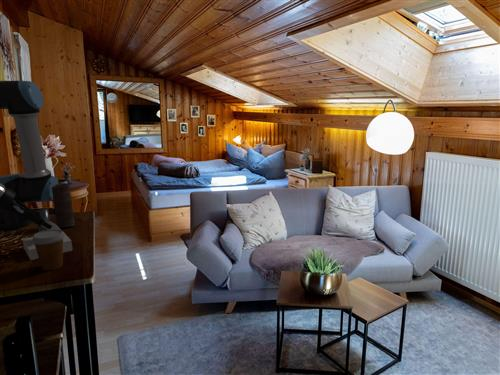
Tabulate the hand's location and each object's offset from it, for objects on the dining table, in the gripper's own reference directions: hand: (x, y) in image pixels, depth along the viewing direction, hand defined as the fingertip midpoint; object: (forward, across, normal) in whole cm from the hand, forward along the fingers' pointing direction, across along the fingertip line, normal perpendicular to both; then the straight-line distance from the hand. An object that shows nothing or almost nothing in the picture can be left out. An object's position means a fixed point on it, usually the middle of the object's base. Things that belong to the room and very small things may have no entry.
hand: (56, 230), depth 139 cm
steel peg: (0, 0, -6) cm, 6 cm away
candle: (+11, -25, +1) cm, 28 cm away
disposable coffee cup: (+1, +18, -9) cm, 20 cm away
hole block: (+2, 0, -8) cm, 8 cm away
